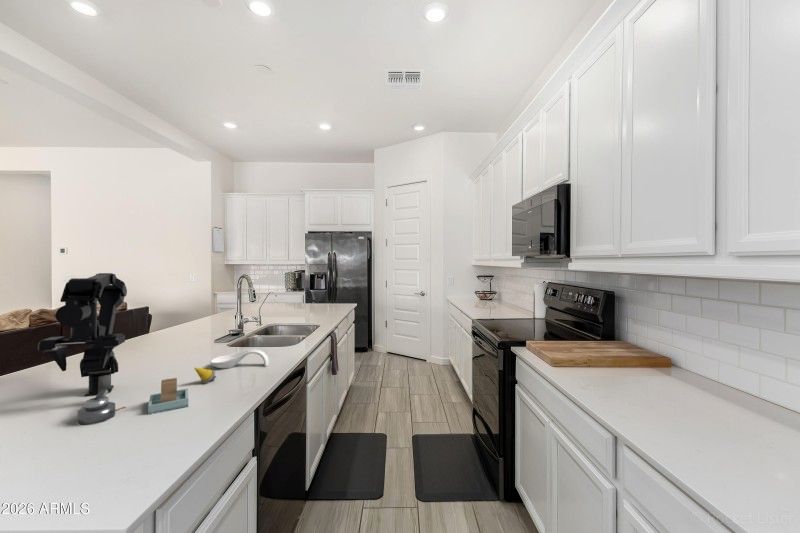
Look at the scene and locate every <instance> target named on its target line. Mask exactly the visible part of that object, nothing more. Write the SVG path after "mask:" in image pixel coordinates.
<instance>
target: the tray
mask: <svg viewBox="0 0 800 533" xmlns="http://www.w3.org/2000/svg"><path fill="white" fill-rule="evenodd" d="M188 407H189V389H188V388H182V389H177V400H175V401H170V402H164V403H161V392H160V393H153V394H150V395H149V399H148V407H147V415H148V414H149V415H152V413H154V414H158V413H157V412H159V413H163V411H164V412H168V411H173V410H179V409H183V408H188Z"/></svg>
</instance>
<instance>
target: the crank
mask: <svg viewBox="0 0 800 533" xmlns="http://www.w3.org/2000/svg"><path fill="white" fill-rule="evenodd" d="M111 385H112V374H111V375H104V376H100V377H98V391H99V392H98V394H96V396H95V397H93V398H89V399H87V400H86V401H85V402H84V407H85V410H86V411H93V410H98V409H102V408H104V407H107V406H108V405H109V402H110V401H109V399H110V398H109V397H108V396H107V394H108V393H109V392H108V390H110V389H111Z"/></svg>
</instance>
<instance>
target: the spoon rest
mask: <svg viewBox="0 0 800 533" xmlns="http://www.w3.org/2000/svg"><path fill="white" fill-rule="evenodd" d="M251 354H254V355H258V356H260V357H261V358H262V360H263V366H264V367H265V368H266V367H267V366H269V364H270V358H269V357H268V355H267V353H266V352H264V351H263V350H259V349H255V348H254V349H253V348H252V349H248V350H245V351H242V352H238V353H233V354H226V355H221V356H217V357H214V358H213V359H211V360H210V361H209V363H210V364H211V365H212V366H213V367H215V368H217V369H221V370H222V369H232V368H234V367H235V366H236V365H237V364H238V363H240V362H241V361H242V360H243V359H244V358H245V357H246V356H248V355H251Z"/></svg>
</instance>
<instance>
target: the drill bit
mask: <svg viewBox="0 0 800 533" xmlns="http://www.w3.org/2000/svg"><path fill="white" fill-rule="evenodd" d="M193 370H195V371H196V373H197V375H198V377H199V378H200V381H201V383H203V384H204V385H206V384H208V383H209V382H211V381H213V382H214V381H215V379H216V378H217V375H215V374H216V370H214V369H212V368H211V369H206V368H203V367H202V368H200V367H195V366H194V367H193Z"/></svg>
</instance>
